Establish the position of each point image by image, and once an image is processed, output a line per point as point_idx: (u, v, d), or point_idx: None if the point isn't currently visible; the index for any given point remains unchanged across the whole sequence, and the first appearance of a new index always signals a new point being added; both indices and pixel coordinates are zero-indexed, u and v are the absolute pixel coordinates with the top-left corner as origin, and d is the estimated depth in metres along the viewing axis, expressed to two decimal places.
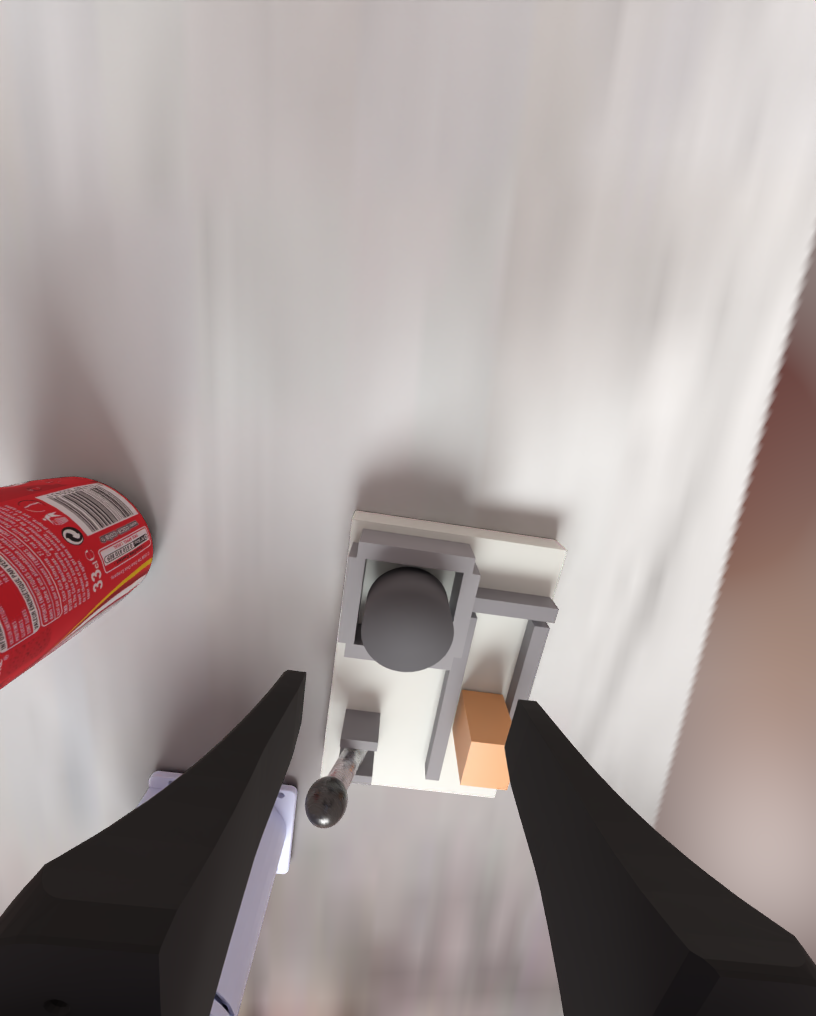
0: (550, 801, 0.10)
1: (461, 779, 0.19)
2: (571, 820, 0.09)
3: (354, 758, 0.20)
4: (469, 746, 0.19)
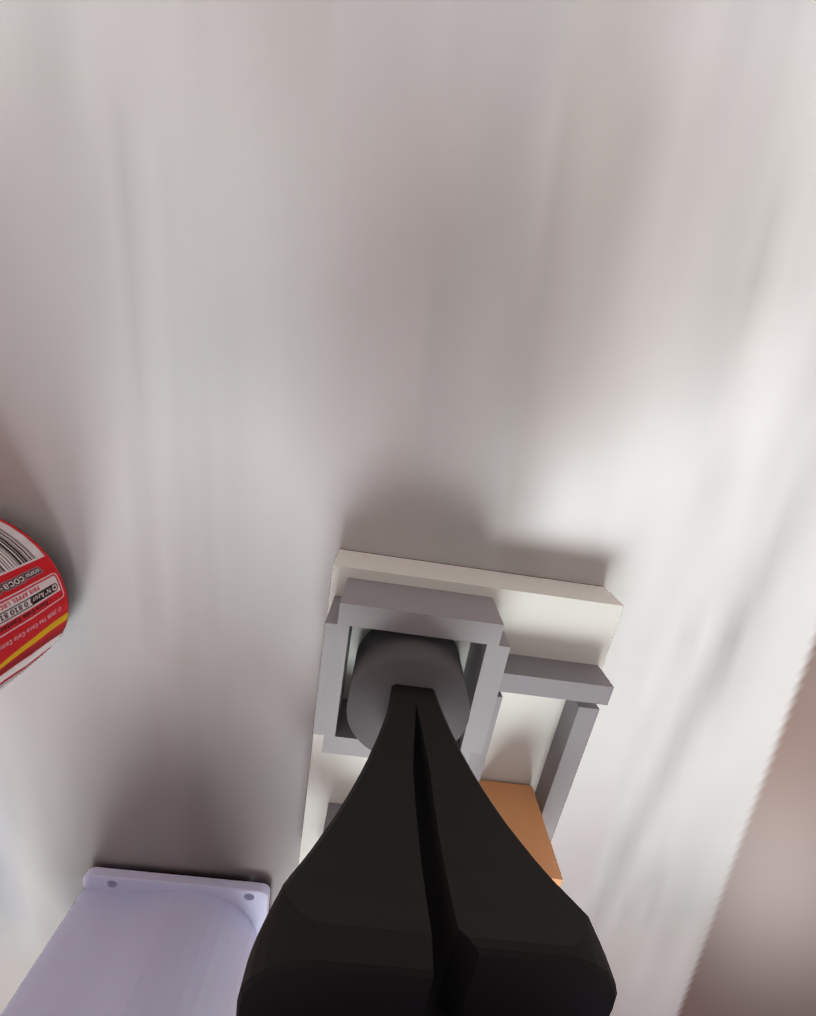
0: (419, 787, 0.10)
1: None
2: (426, 804, 0.09)
3: None
4: None
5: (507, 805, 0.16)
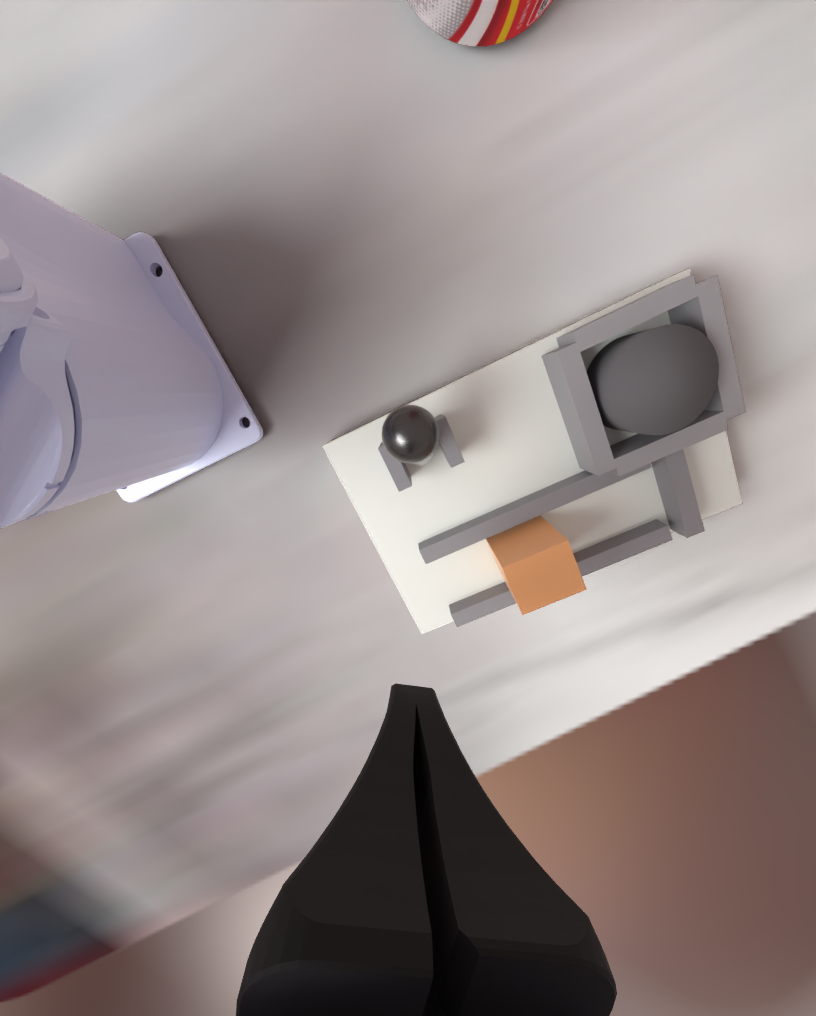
0: (419, 786, 0.10)
1: (508, 564, 0.16)
2: (426, 804, 0.09)
3: None
4: (555, 543, 0.15)
5: None
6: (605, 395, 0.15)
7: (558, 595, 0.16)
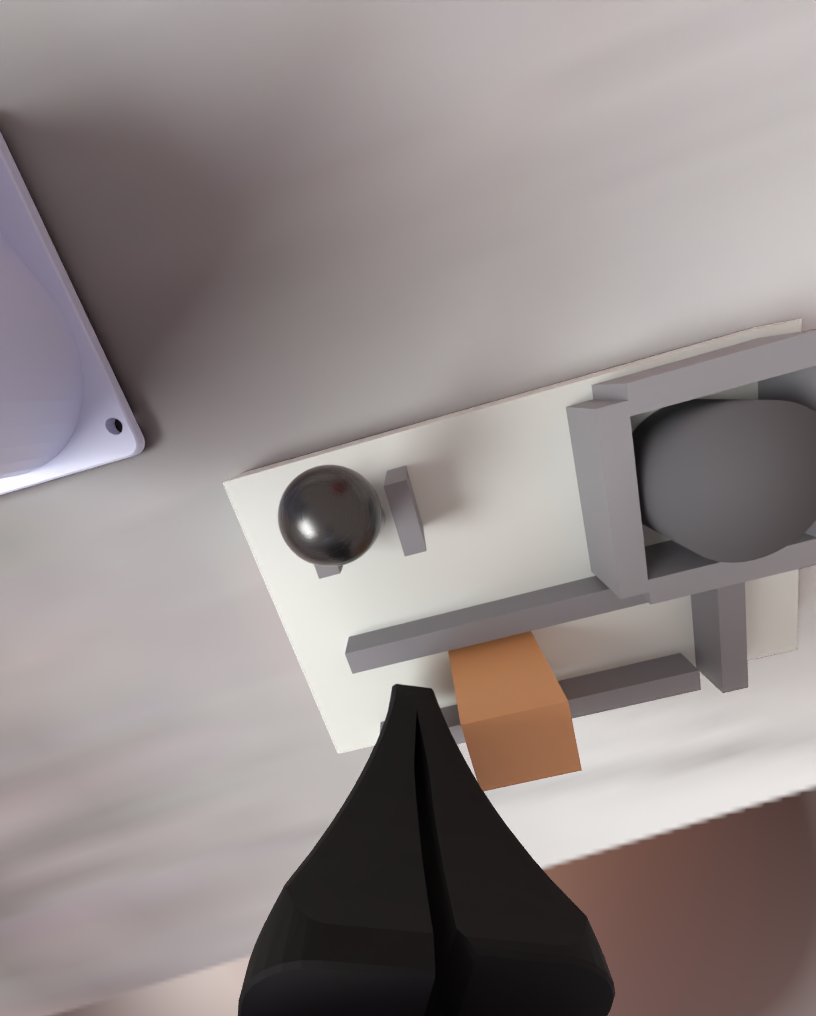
0: (418, 787, 0.10)
1: (471, 721, 0.10)
2: (425, 804, 0.09)
3: None
4: (546, 700, 0.10)
5: None
6: (655, 488, 0.10)
7: (538, 772, 0.10)
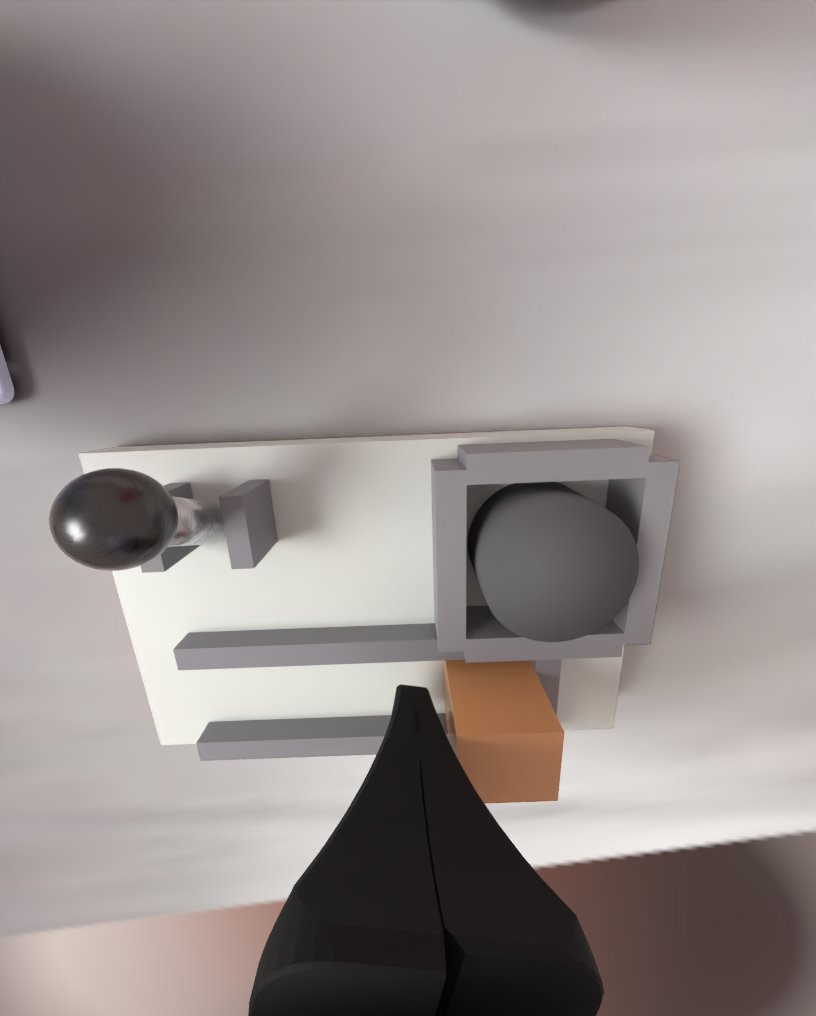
0: None
1: (467, 734, 0.10)
2: None
3: (204, 533, 0.10)
4: (543, 728, 0.10)
5: None
6: (480, 556, 0.10)
7: (516, 795, 0.11)
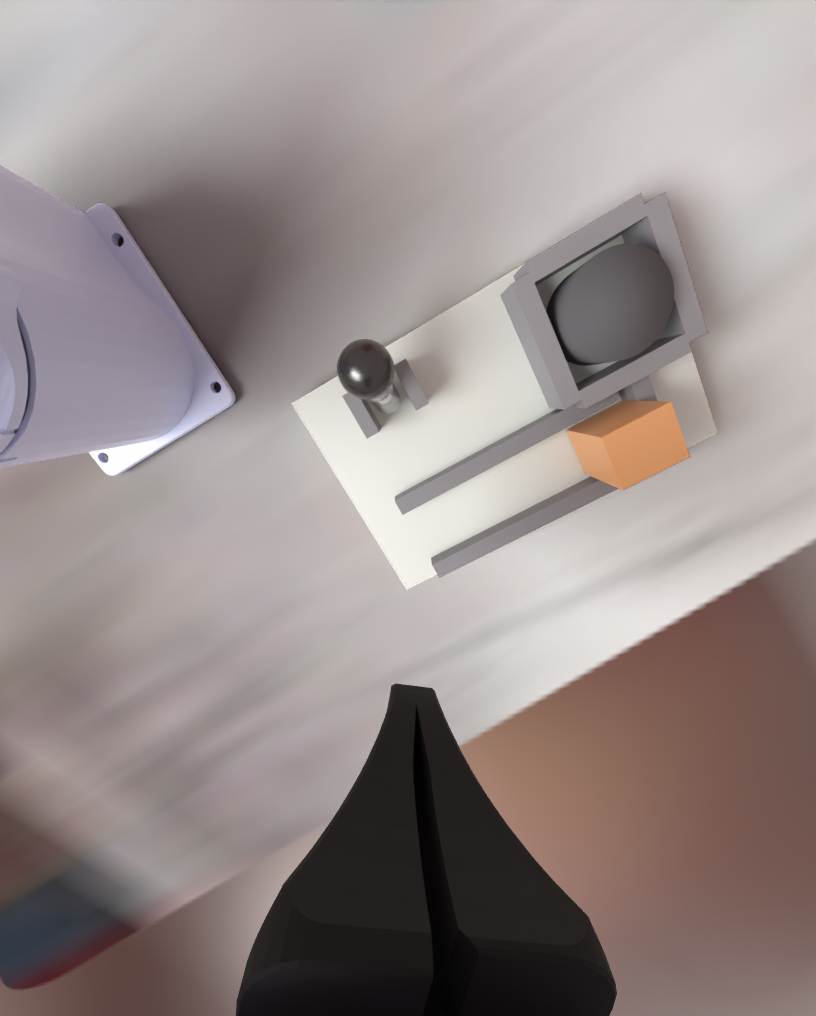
0: (419, 786, 0.10)
1: (607, 434, 0.15)
2: (426, 804, 0.09)
3: (394, 391, 0.16)
4: (656, 407, 0.15)
5: None
6: (563, 325, 0.15)
7: (660, 465, 0.15)
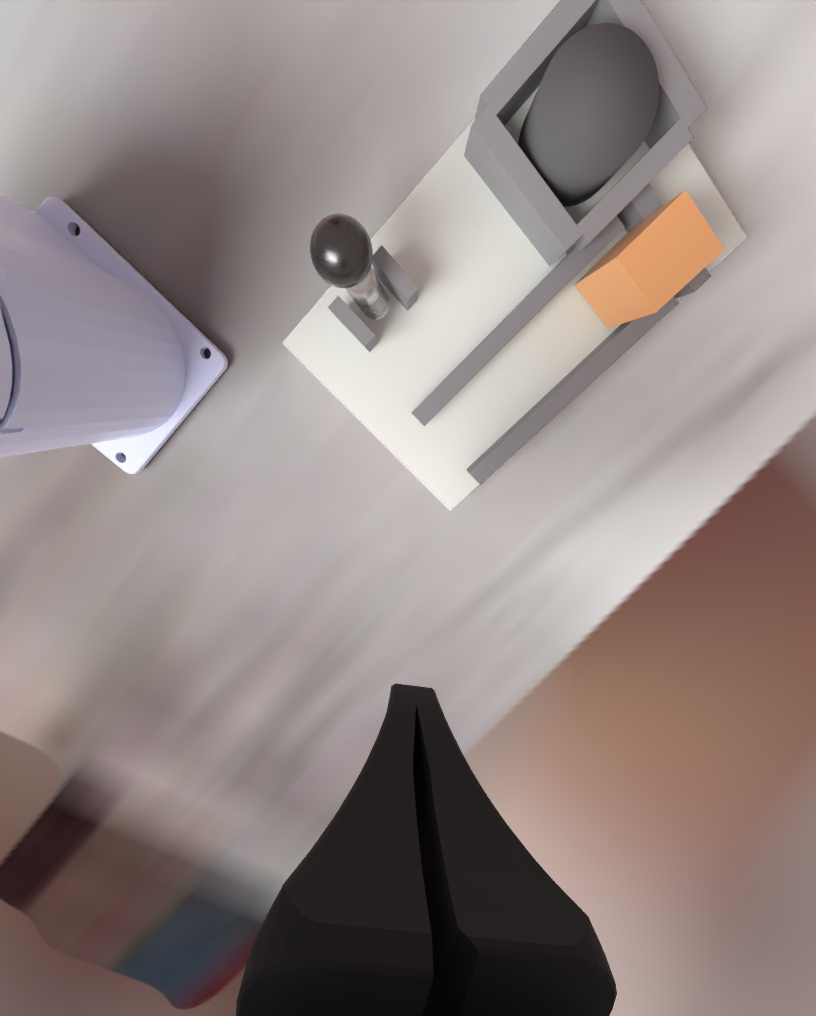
0: (419, 787, 0.10)
1: (622, 252, 0.13)
2: (426, 804, 0.09)
3: (379, 283, 0.14)
4: (670, 203, 0.13)
5: None
6: (540, 152, 0.14)
7: (692, 269, 0.13)
